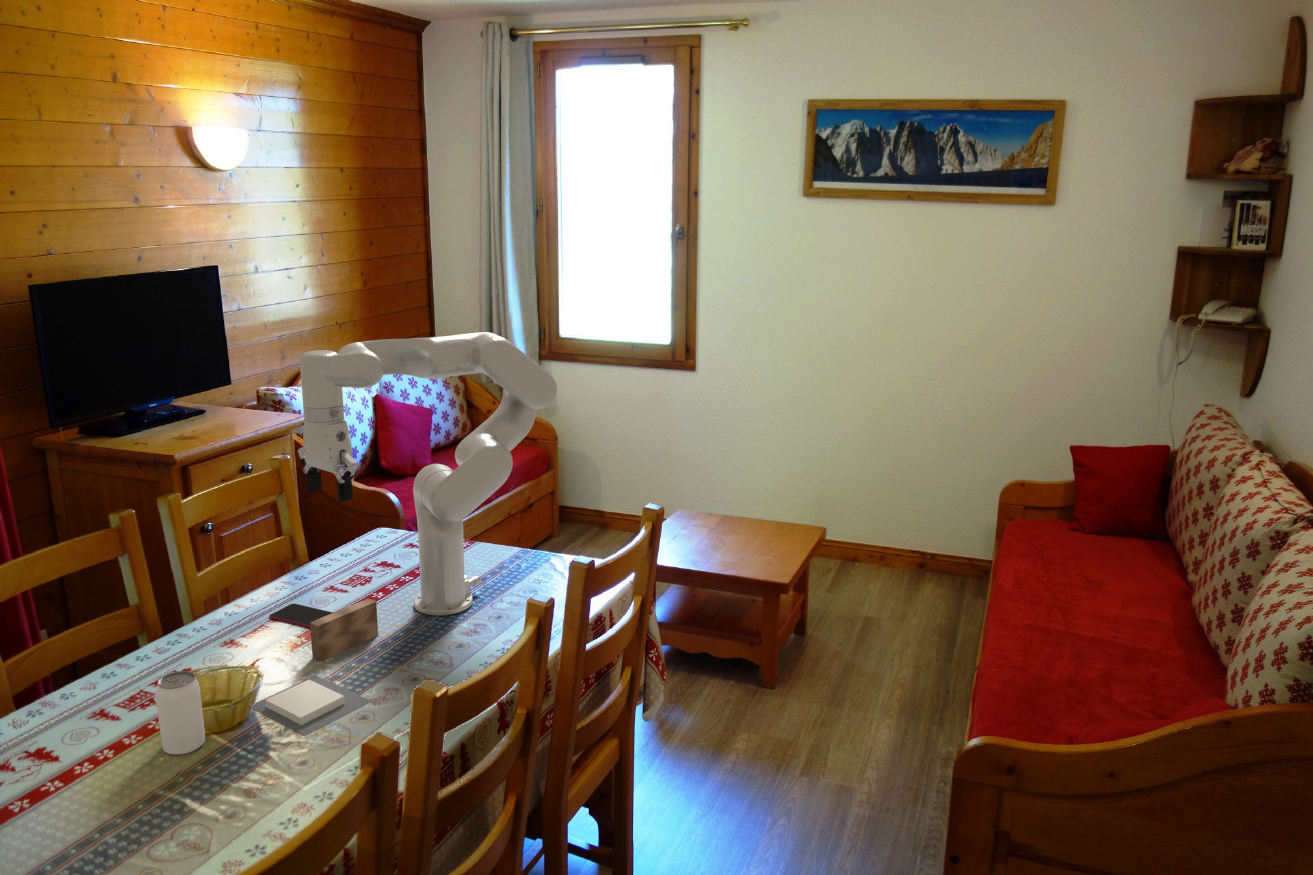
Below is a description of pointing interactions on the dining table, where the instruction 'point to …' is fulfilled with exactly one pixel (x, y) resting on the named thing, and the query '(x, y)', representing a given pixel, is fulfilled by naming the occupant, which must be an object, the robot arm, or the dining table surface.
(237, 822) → the dining table surface
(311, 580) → the dining table surface
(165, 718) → the can
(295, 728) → the mat
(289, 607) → the smartphone
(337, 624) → the wooden plank piece
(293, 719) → the tile
